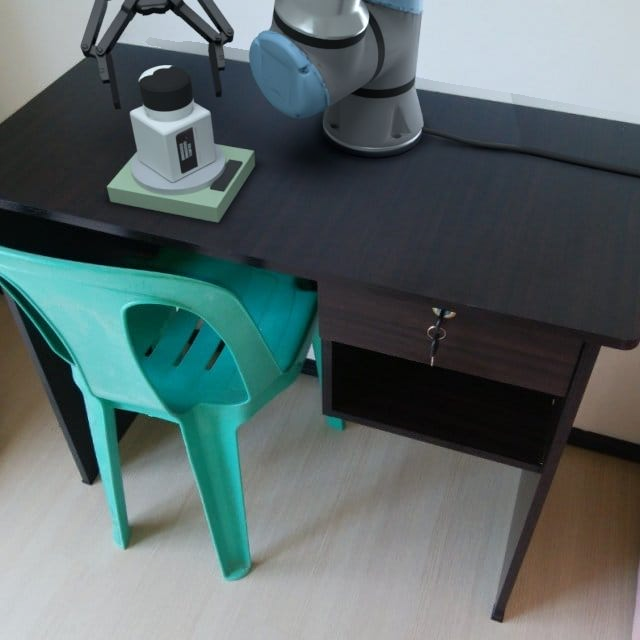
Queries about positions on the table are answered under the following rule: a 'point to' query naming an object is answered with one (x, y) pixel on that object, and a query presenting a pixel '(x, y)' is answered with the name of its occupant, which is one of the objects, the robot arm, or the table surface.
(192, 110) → the container
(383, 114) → the robot arm
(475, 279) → the table surface
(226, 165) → the scale
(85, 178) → the table surface
